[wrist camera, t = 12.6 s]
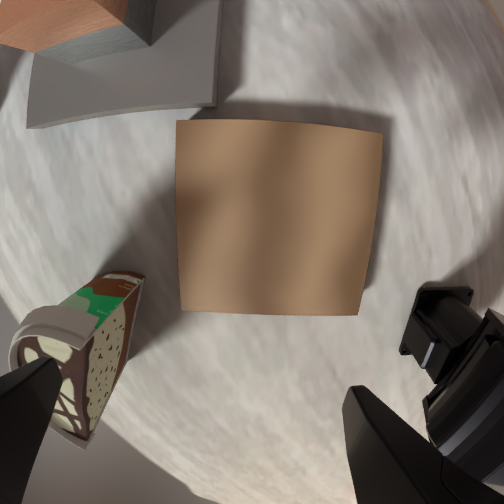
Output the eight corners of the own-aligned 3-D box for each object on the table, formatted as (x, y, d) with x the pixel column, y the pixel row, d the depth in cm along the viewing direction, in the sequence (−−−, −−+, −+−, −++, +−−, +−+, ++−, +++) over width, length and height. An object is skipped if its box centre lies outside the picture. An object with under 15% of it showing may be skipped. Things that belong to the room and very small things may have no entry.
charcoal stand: (229, -52, 12) (227, -66, 10) (216, 107, 17) (211, 102, 15) (67, -16, 12) (56, -24, 10) (42, 128, 17) (26, 128, 15)
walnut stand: (371, 135, 17) (383, 134, 15) (349, 301, 21) (357, 315, 19) (184, 123, 17) (176, 120, 15) (187, 296, 21) (181, 310, 19)
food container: (80, 229, 19) (-11, 284, 10) (150, 258, 20) (80, 341, 11) (70, 345, 23) (19, 414, 14) (125, 371, 24) (85, 453, 14)
